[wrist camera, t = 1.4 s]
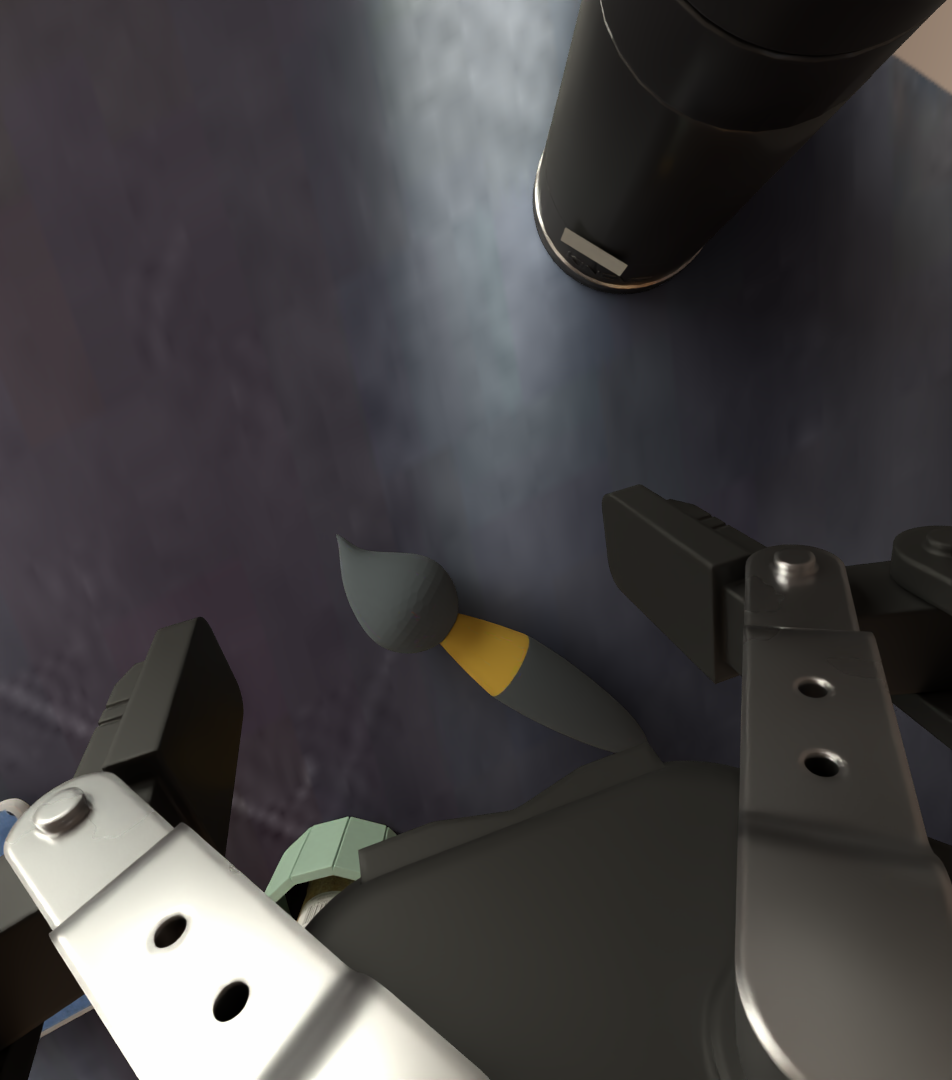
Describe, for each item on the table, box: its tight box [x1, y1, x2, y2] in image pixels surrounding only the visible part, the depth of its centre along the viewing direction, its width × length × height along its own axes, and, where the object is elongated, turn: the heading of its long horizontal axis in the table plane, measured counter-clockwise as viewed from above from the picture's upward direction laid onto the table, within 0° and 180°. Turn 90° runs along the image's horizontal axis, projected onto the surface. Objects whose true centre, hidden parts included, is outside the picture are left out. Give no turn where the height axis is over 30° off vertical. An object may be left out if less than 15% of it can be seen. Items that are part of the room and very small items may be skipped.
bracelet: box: [265, 817, 396, 916], centre depth 32 cm, size 8×8×4 cm
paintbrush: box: [336, 535, 647, 753], centre depth 31 cm, size 20×5×5 cm, turn 62°
